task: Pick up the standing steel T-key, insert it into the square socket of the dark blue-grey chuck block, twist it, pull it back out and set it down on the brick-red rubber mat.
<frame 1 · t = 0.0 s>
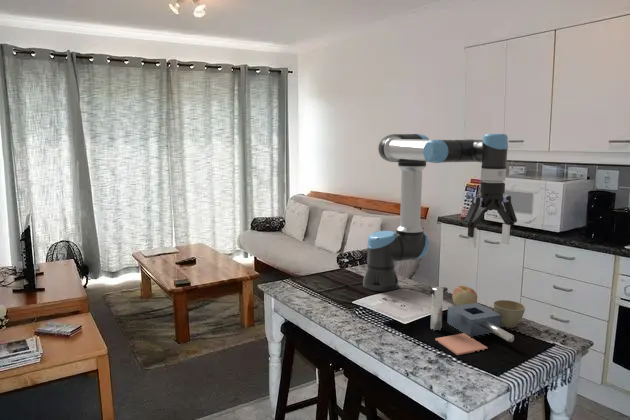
hand: (488, 245, 154), 28 cm above the table, fingers open, 13 cm apart
key: (435, 328, 155), on the table
mat: (460, 344, 143), on the table
apple: (464, 308, 174), on the table
chuck: (473, 327, 156), on the table
beige bowl: (507, 325, 158), on the table
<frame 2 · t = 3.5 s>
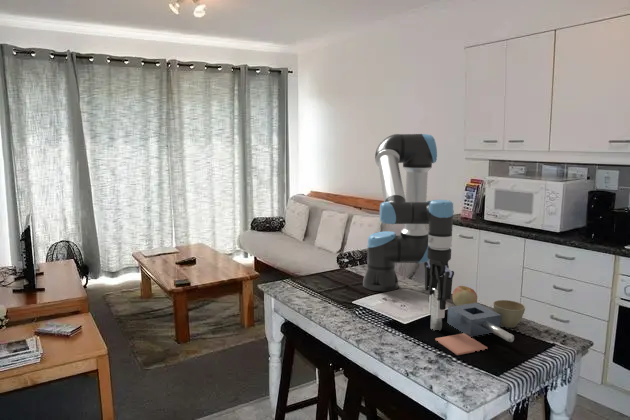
hand: (436, 315, 154), 5 cm above the table, fingers closed on key, 4 cm apart
key: (435, 328, 155), on the table, touching gripper
everything else where it was.
when the fingers open (6 cm above the table, at t = 13.4 s): key stays where it is, resting on mat.
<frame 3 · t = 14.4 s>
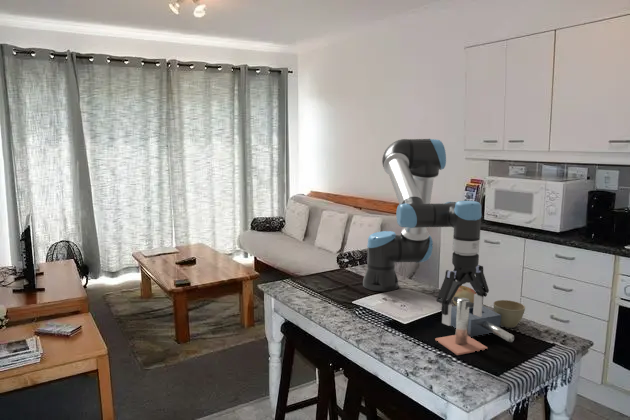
hand: (462, 319, 142), 8 cm above the table, fingers open, 13 cm apart
key: (461, 342, 143), point 1 cm above the table, touching mat
everything else where it was.
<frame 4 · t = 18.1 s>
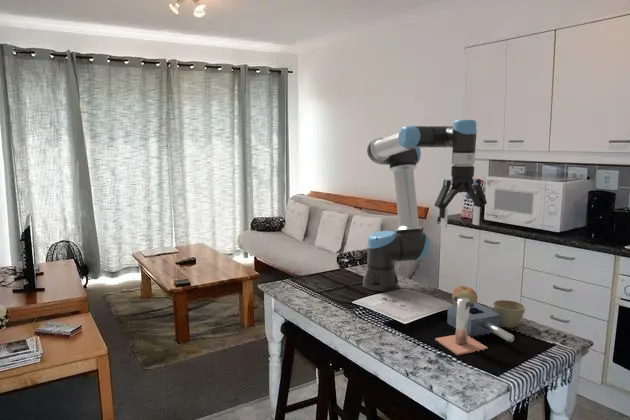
hand: (459, 225, 162), 33 cm above the table, fingers open, 13 cm apart
nothing on the table moved.
at the end: key inside the target area on the mat (0.1 cm from its centre), point 0.6 cm above the mat's base; the gripper is holding nothing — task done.
